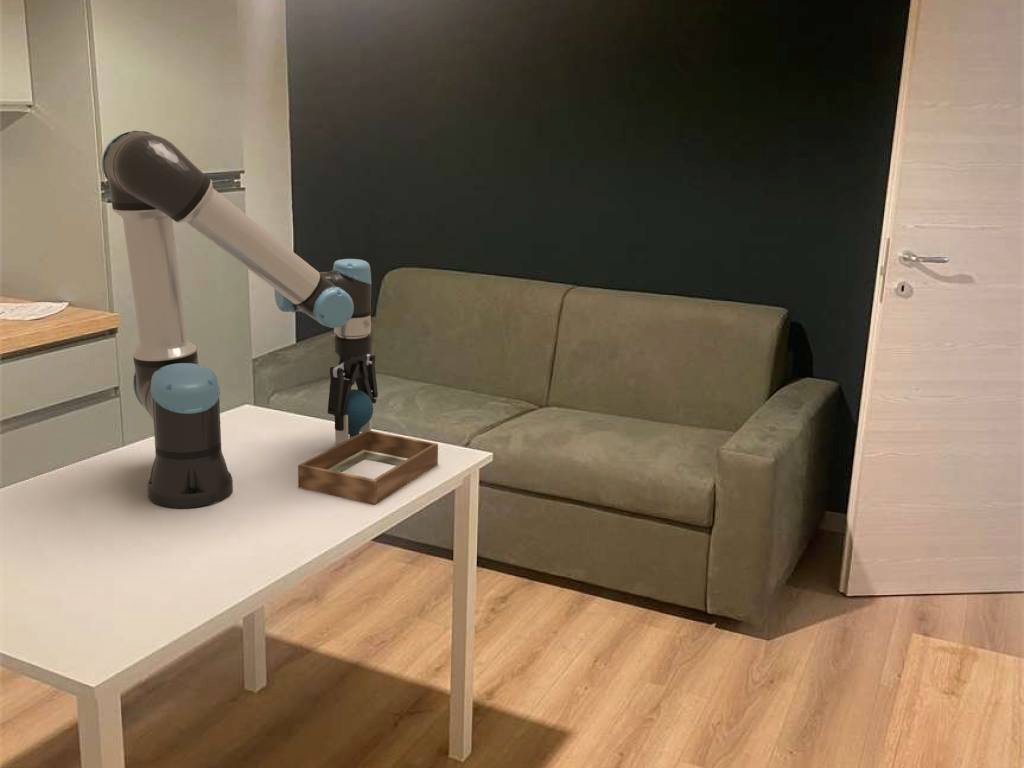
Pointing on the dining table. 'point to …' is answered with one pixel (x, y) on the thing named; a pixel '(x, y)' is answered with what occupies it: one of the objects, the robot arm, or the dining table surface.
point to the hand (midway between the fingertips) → (353, 437)
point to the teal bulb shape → (358, 411)
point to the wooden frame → (376, 446)
